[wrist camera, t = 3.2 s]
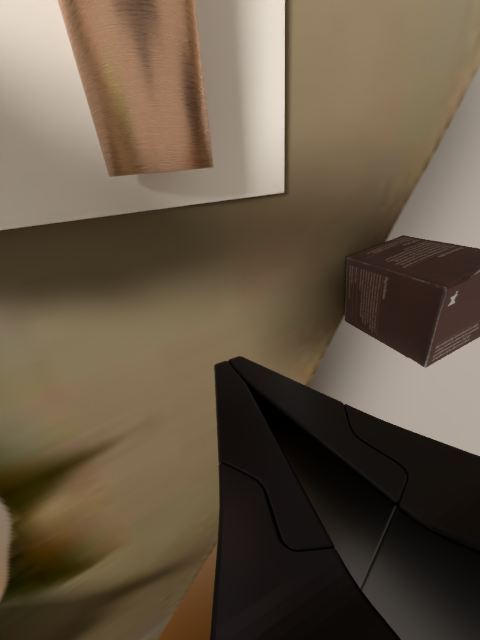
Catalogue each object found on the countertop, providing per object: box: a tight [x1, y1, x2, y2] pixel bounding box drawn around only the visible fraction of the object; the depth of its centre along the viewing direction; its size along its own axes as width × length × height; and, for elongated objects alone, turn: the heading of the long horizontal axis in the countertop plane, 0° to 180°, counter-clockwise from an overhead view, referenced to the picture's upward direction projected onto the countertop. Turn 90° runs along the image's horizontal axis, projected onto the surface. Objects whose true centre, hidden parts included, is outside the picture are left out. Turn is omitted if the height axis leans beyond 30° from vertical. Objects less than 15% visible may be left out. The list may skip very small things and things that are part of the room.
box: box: [345, 235, 480, 367], centre depth 19 cm, size 6×6×7 cm
